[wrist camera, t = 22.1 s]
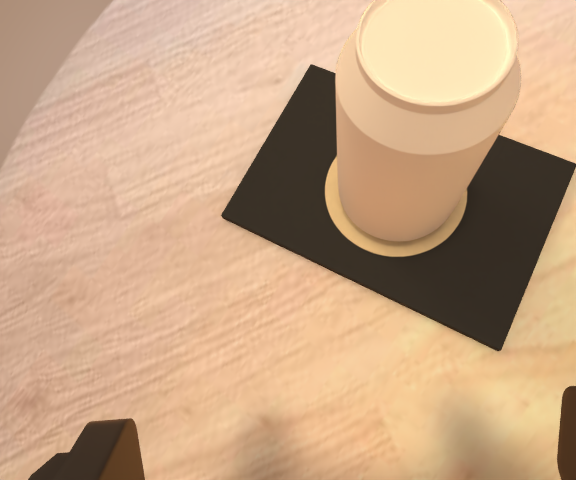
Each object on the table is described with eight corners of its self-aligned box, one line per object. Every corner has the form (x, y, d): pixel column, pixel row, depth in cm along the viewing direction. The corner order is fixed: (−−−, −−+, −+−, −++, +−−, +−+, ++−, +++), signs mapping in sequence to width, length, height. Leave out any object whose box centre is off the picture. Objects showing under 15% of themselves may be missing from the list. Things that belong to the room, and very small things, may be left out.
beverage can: (319, 169, 27) (302, 6, 16) (419, 125, 27) (473, -69, 16) (369, 266, 25) (391, 158, 14) (476, 217, 25) (585, 71, 14)
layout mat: (222, 217, 27) (220, 214, 27) (311, 68, 30) (310, 62, 29) (498, 351, 24) (501, 350, 23) (573, 167, 26) (578, 163, 26)
